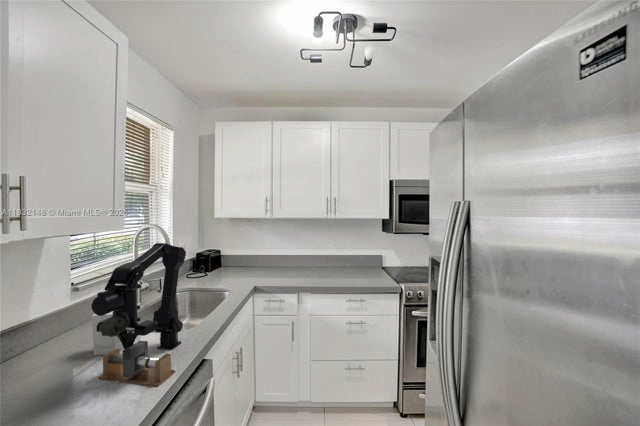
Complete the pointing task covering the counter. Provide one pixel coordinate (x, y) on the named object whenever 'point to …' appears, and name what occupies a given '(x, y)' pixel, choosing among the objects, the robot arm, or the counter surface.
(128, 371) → the collar
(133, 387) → the counter surface
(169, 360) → the pipe rig
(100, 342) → the skincare box
